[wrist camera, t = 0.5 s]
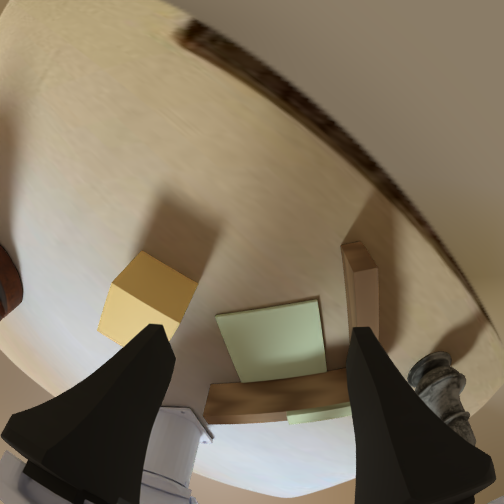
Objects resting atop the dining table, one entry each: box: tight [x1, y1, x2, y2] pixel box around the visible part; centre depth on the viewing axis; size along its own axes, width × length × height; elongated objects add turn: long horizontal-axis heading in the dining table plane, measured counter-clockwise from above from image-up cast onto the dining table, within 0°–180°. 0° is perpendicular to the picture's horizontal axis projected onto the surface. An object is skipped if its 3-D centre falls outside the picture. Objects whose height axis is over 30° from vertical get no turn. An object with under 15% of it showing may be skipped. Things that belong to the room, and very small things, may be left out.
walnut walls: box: [203, 241, 379, 425], centre depth 21 cm, size 15×14×4 cm
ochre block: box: [97, 251, 198, 347], centre depth 20 cm, size 5×5×5 cm
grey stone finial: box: [407, 352, 476, 446], centre depth 19 cm, size 6×6×12 cm
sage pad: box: [215, 299, 327, 383], centre depth 24 cm, size 8×8×1 cm
